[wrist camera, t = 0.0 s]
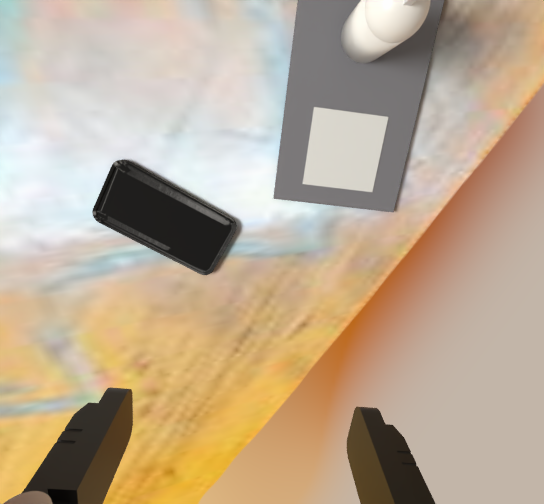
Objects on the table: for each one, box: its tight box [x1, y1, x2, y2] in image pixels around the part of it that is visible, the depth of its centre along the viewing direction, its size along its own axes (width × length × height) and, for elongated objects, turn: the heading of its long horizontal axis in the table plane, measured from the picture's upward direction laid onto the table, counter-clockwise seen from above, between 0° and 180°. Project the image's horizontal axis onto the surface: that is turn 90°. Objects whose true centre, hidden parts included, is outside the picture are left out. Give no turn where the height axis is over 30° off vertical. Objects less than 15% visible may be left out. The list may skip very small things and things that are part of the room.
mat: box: [274, 0, 444, 212], centre depth 35 cm, size 24×14×1 cm, turn 173°
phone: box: [93, 160, 236, 275], centre depth 39 cm, size 8×1×15 cm
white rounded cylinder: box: [341, 0, 431, 63], centre depth 28 cm, size 5×5×12 cm
